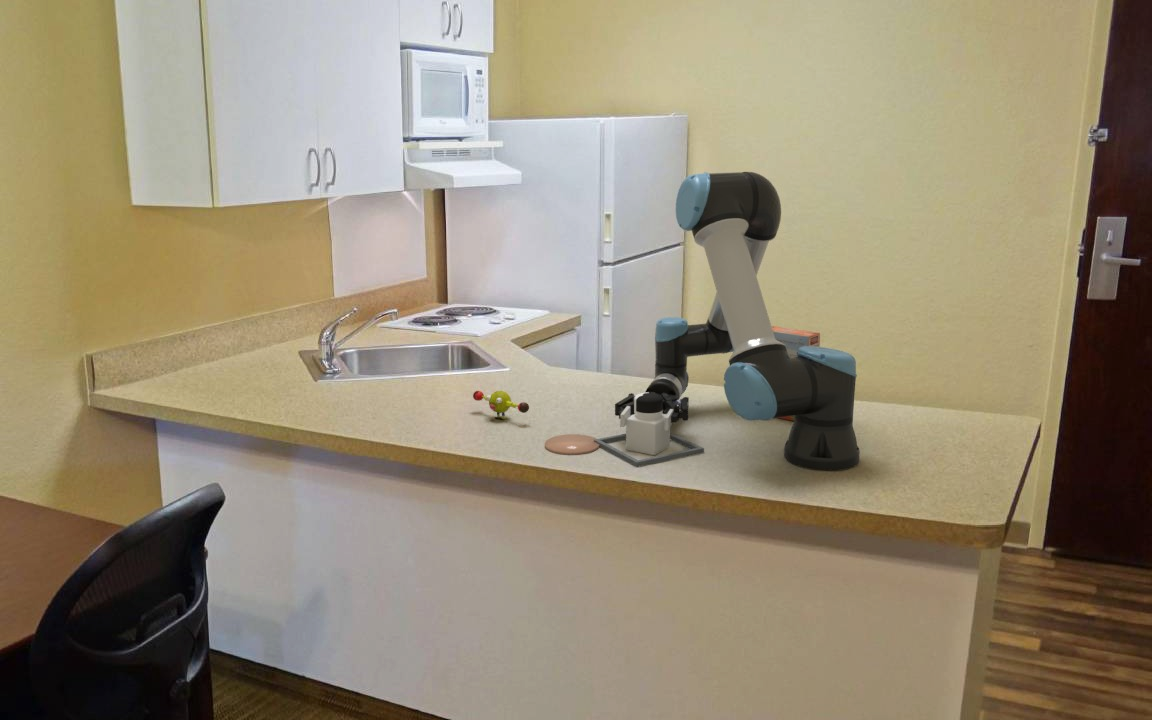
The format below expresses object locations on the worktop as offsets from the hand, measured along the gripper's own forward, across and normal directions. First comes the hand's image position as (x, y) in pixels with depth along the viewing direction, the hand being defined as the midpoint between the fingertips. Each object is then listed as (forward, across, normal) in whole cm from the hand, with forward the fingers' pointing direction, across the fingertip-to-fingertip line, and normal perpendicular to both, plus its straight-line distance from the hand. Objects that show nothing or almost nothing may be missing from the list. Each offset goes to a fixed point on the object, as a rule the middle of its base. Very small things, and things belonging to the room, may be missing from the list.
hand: (644, 422), depth 200 cm
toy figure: (-17, +38, -7) cm, 43 cm away
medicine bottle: (-5, 0, -7) cm, 9 cm away
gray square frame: (-5, 0, -7) cm, 9 cm away
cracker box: (-36, -27, -7) cm, 45 cm away
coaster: (-3, +16, -7) cm, 18 cm away
